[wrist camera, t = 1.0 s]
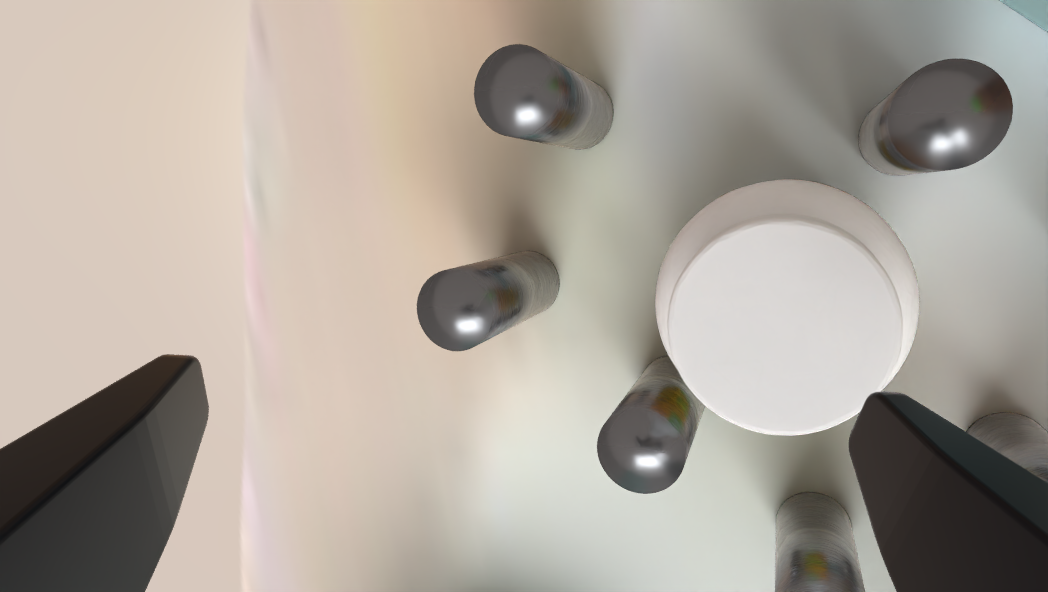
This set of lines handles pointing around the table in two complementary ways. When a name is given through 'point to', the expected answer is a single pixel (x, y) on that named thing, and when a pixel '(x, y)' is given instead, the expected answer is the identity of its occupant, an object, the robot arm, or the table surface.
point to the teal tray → (1031, 10)
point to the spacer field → (660, 393)
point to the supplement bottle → (787, 306)
